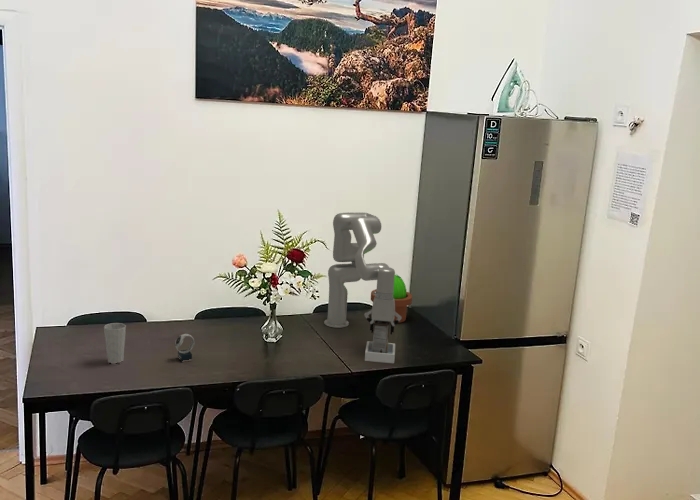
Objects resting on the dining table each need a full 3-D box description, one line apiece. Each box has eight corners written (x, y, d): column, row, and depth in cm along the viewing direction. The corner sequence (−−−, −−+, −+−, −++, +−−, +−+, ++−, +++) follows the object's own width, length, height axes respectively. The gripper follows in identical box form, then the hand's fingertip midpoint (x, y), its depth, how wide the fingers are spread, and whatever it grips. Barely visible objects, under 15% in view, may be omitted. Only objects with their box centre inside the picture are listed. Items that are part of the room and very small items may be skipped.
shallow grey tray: (366, 349, 285) (367, 341, 285) (394, 351, 285) (395, 343, 284) (364, 360, 272) (365, 352, 271) (394, 363, 271) (394, 354, 270)
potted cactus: (370, 323, 321) (373, 277, 316) (368, 310, 343) (371, 267, 337) (412, 326, 322) (416, 279, 316) (407, 313, 343) (411, 269, 338)
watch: (173, 358, 262) (173, 333, 259) (192, 355, 266) (192, 331, 263) (176, 363, 257) (176, 338, 255) (195, 360, 261) (196, 335, 259)
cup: (114, 367, 249) (113, 331, 245) (99, 362, 253) (99, 326, 249) (131, 361, 256) (130, 325, 253) (116, 356, 260) (116, 321, 257)
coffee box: (373, 350, 283) (376, 317, 280) (387, 352, 282) (390, 319, 279) (371, 358, 274) (373, 323, 271) (385, 359, 273) (388, 325, 270)
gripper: (364, 295, 269) (361, 333, 273) (404, 299, 268) (401, 337, 272) (365, 291, 276) (362, 328, 280) (404, 294, 275) (401, 331, 279)
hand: (381, 332), depth 276 cm, fingers open, 8 cm apart
